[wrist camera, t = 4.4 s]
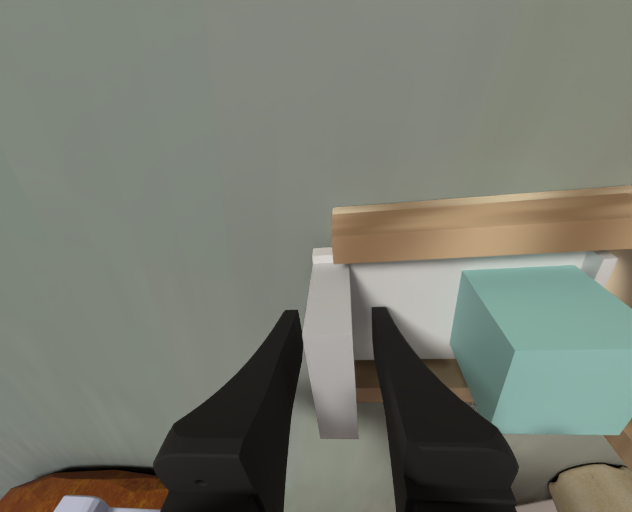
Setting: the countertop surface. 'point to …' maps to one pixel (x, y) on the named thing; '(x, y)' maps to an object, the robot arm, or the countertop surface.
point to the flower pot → (593, 489)
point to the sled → (394, 316)
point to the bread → (87, 490)
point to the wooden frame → (489, 249)
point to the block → (544, 350)
